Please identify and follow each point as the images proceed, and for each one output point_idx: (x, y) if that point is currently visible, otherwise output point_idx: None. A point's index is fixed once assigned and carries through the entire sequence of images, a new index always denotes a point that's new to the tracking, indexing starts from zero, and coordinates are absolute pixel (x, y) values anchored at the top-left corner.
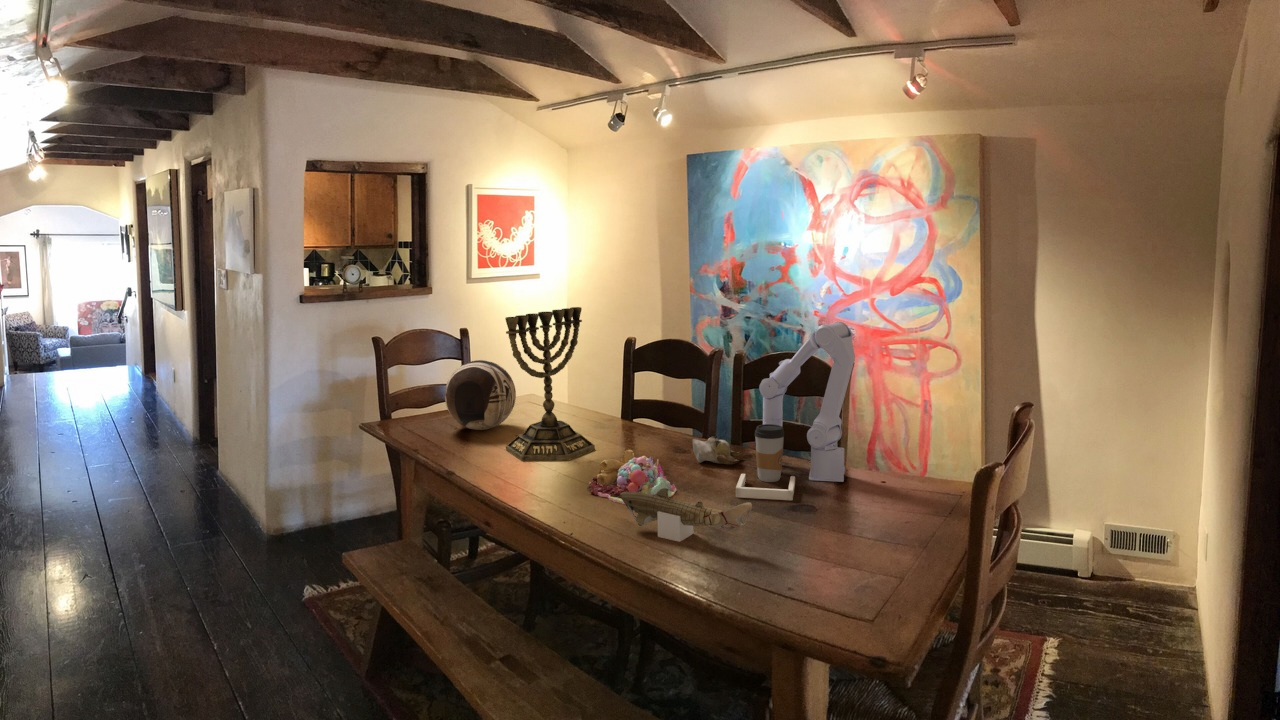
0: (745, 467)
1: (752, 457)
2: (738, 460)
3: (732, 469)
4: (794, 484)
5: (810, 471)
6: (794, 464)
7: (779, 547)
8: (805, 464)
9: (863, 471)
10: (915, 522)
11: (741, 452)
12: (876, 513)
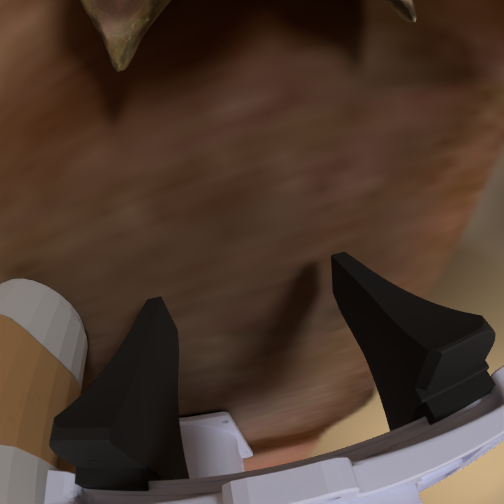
0: (161, 107)
1: (436, 92)
2: (112, 61)
3: (68, 45)
4: None
5: (218, 418)
6: (337, 338)
7: None
8: (345, 366)
9: (299, 458)
10: None
11: (408, 16)
12: None
